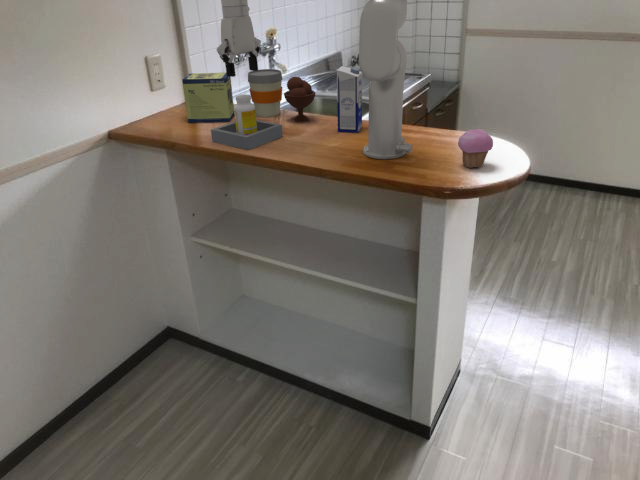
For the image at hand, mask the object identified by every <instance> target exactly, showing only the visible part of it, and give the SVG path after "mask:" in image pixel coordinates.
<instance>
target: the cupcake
mask: <svg viewBox="0 0 640 480" xmlns="http://www.w3.org/2000/svg"><path fill="white" fill-rule="evenodd" d="M457 145H458V146H457V147H459V149H460V150H461V152H462V157H461V159H462V164H463V165H464V166H465V167H466V166H467V168H468V169H472V168H482V167H483V165H484V164H485V162H486V161H485V160H486V157H487V155H488V153H489V151H491V150H492V149H493V147H494V139H493V138H492V137H491V135H489V134H488V133H487V131H485V130H483V129H480V128H479V129H477V128H475V129H470V130H467V131H465V132H464V133H463V134H462V135H461V136H459V138H458V143H457Z"/></svg>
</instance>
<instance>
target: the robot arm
mask: <svg viewBox="0 0 640 480" xmlns="http://www.w3.org/2000/svg"><path fill="white" fill-rule="evenodd" d="M220 3H221V5H220V6H221V10H222V18H221V19H220V41H221V44H219V46H218V47H216V52H217V53H218V55H219V58H220V60H222V62H223V63H224V64H225V72H226V73H227V76H231V78H235V77H236V76H237V75H236V68H235V67H236V66H235V62H233V60H234V58H235V56H237V55H238V56H239V55H242V54H248V55H249V56H248V57H247V58H248V60H247V61H248V68H249V70H250V71H258V70H259V63H258V57H259V52H260V51H261V48H260V47H261V45H262V40H260V39H259V38H258V37H256V36H255V32H254V27H253V22H252V19H251V18H252V17H251V15H250V7H249V2H248V0H220ZM407 6H408V0H368V1H367V2H366V3H365V5H364V6H363V8H362V11H361V14H360V20H359V36H358V37H359V41H358V66H359V70H360V72H362V76H363V77H364V78H365V79H366V80H369V85H368V130H367V131H368V136H367V137H368V143H367V144H366V145H364V147H363V149H362V153H363V155H364V156H366V157H369V158H372V159H376V160H377V159H378V160H390V159H398V158H402V157H403V156H405V155H406V153H407V154H408V153H409V154H411V153H412V151H413V144H412V143H407V142H406V140H405V139H406V137H402V132H403V129H402V128H403V109H404V108H403V105H404V104H403V103H404V90H405V89H404V88H405V77H406V70H407V61H408V60H407V51H406V48H405V45H404V44H403V43H402V42H401V41H400V40H399V39H397V37H398V36H397V33H398V31H399V30H400V29H401V28H402V27H403V25H405V22H406V19H407V11H408V10H407V8H408V7H407Z"/></svg>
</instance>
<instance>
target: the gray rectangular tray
mask: <svg viewBox="0 0 640 480" xmlns="http://www.w3.org/2000/svg"><path fill="white" fill-rule="evenodd" d="M256 122H257V132H255V133H252V134H249V135H243V134H238V133H237V132H236V123H235V121H231V122H228V123H227V124H223V125H220V126H217V127H215V128H211V129H210V133H211V141H212V143H216V144H220V145H225V146H229V147H233V148H237V149H241V150H245V151H250V150H253V149H255V148H258V147H261V146H263V145H265V144H268V143H271V142H273V141H276V140H279V139H280V138H281V139H282V138H283V137H284V136H283V135H284V133H283V124H281V123H276V122H270V121H265V120H260V119H256Z"/></svg>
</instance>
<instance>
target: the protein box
mask: <svg viewBox="0 0 640 480" xmlns="http://www.w3.org/2000/svg"><path fill="white" fill-rule="evenodd" d="M181 80H182V87H183V95H184V100H185V101H184V103H185V108H186V116H187V118H186V119H187V123H188V124H198V123H197V122H205V124H207V123H209V124H211V123H231V122H232V120H233V118H234V117H235V115H234V106H235V105H234V98H233V89H232V77H231V76H227V73H226V71H225V72H204V73H203V72H202V73H201V72H199V73H197V72H195V73H188V74H187V75H186V76H184V77H183V78H182V79H181Z"/></svg>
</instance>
